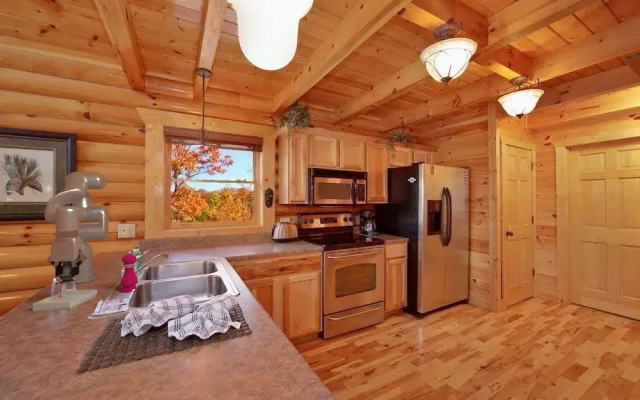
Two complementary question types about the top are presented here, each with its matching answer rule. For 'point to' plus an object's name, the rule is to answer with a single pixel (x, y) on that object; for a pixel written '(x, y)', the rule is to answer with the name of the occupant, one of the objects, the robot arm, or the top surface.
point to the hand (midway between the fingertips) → (67, 275)
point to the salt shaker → (66, 273)
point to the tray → (65, 300)
